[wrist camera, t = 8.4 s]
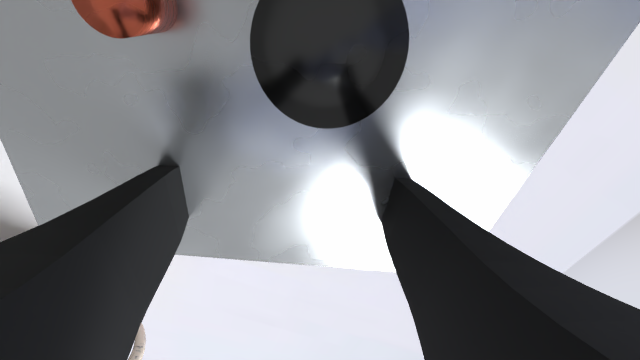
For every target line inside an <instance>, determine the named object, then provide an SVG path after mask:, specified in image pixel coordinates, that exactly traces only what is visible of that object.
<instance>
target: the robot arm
mask: <svg viewBox="0 0 640 360" xmlns="http://www.w3.org/2000/svg"><path fill="white" fill-rule="evenodd" d="M188 218H189V214H188V208H187V203H186V198H185V193H184V187H183V182H182V177H181V172H180V166H167V165H158V166H156V167H153V168H151V169H149V170H147V171H145V172H143V173H141V174H139V175H137V176H136V177H134V178H132V179H130V180H128V181H126V182H124V183H123V184H121V185H119V186H117V187H115V188H113V189H111V190H109V191H108V192H106V193H104V194H102V195H100V196H98V197H96V198H94V199H93V200H91V201H89V202H87V203H85V204H82V205H80V206H78V207H76V208H74V209H72V210H70V211H68V212H66V213H64V214H62V215H60V216H58V217H56V218H54V219H52V220H50V221H48V222H46V223H44V224H41V225H39V226H37V227H35V228H33V229H30V230H28V231H26V232H24V233H21V234H19V235H17V236H14V237H12V238H10V239H7V240H5V241H2V242H0V360H127V359H128V356H129V353H130V351H131V348H132V345H133V343H134V340H135V338H136V335H137V332H138V330H139V327H140V325H141V322H142V320H143V318H144V316H145V313H146V311H147V309H148V307H149V305H150V303H151V301H152V299H153V297H154V295H155V293H156V291H157V289H158V287H159V285H160V283H161V281H162V279H163V277H164V275H165V273H166V271H167V269H168V267H169V265H170V263H171V261H172V259H173V257H174V255H175V253H176V251H177V249H178V247H179V244H180V242H181V240H182V237H183V234H184V231H185V228H186V225H187V222H188ZM381 224H382V229H383V234H384V238H385V242H386V246H387V249H388V252H389V254H390V257H391V260H392V262H393V265H394V268H395V270H396V273H397V275H398V278H399V281H400V283H401V286H402V288H403V291H404V294H405V296H406V299H407V301H408V304H409V307H410V310H411V313H412V316H413V319H414V322H415V326H416V329H417V333H418V336H419V340H420V344H421V347H422V351H423V355H424V359H425V360H640V309H637V308H635V307H633V306H631V305H628V304H625V303H624V302H621V301H619V300H617V299H614V298H612V297H610V296H608V295H606V294H604V293H601V292H599V291H597V290H595V289H593V288H591V287H588V286H586V285H584V284H582V283H580V282H578V281H576V280H574V279H572V278H570V277H568V276H566V275H564V274H562V273H560V272H558V271H556V270H554V269H552V268H550V267H548V266H547V265H545V264H543V263H541V262H539V261H537V260H535V259H534V258H532V257H530V256H528V255H526V254H525V253H523V252H521V251H519V250H518V249H516V248H514V247H512V246H511V245H509V244H507V243H506V242H504V241H502V240H501V239H499V238H497V237H496V236H494V235H493V234H491V233H490V232H488V231H487V230H485V229H484V228H482V227H480V226H479V225H477V224H476V223H474V222H473V221H471V220H470V219H469V218H467V217H466V216H464V215H463V214H461V213H460V212H458V211H457V210H456V209H454V208H453V207H451V206H450V205H449V204H447V203H446V202H445V201H443V200H442V199H440V198H439V197H438V196H436V195H435V194H433V193H432V192H431V191H429V190H428V189H426V188H425V187H424V186H422V185H421V184H419V183H417V182H416V181H414V180H412V179H404V178H395V179H394V182H393V185H392V189H391V192H390V195H389V198H388V202H387V205H386V208H385V211H384V215H383V218H382V221H381Z"/></svg>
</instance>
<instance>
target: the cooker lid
mask: <svg viewBox="0 0 640 360" xmlns="http://www.w3.org/2000/svg"><path fill="white" fill-rule="evenodd" d="M639 22H640V0H0V139H1V141H2V143H3V146H4V148H5V150H6V153H7V155H8V157H9V159H10V162H11V164H12V166H13V169H14V171H15V173H16V175H17V178H18V180H19V182H20V185H21V187H22V189H23V191H24V194H25V196H26V198H27V201H28V203H29V205H30V207H31V210H32V212H33V214H34V217H35V219H36V221H37V223H38V226H39V225H41V224H44V223H46V222H48V221H50V220H52V219H54V218H56V217H58V216H60V215H62V214H64V213H66V212H68V211H70V210H72V209H74V208H76V207H78V206H80V205H82V204H85V203H87V202H89V201H91V200H93V199H94V198H96V197H98V196H100V195H102V194H104V193H106V192H108V191H109V190H111V189H113V188H115V187H117V186H119V185H121V184H123V183H124V182H126V181H128V180H130V179H132V178H134V177H136V176H137V175H139V174H141V173H143V172H145V171H147V170H149V169H151V168H153V167H156V166H158V165H167V166H180V172H181V177H182V182H183V187H184V193H185V198H186V203H187V208H188V214H189V218H188V222H187V225H186V228H185V231H184V234H183V237H182V240H181V242H180V244H179V247H178V249H177V251H176V253H175V255H188V256H200V257H213V258H225V259H238V260H250V261H263V262H275V263H288V264H300V265H313V266H325V267H338V268H350V269H363V270H375V271H388V272H396V270H395V268H394V265H393V262H392V260H391V257H390V254H389V252H388V249H387V246H386V242H385V238H384V234H383V229H382V224H381V221H382V218H383V215H384V211H385V208H386V205H387V202H388V198H389V195H390V192H391V189H392V185H393V182H394V179H395V178H404V179H412V180H414V181H416V182H417V183H419V184H421V185H422V186H424V187H425V188H426V189H428V190H429V191H431V192H432V193H433V194H435V195H436V196H438V197H439V198H440V199H442V200H443V201H445V202H446V203H447V204H449V205H450V206H451V207H453V208H454V209H456V210H457V211H458V212H460V213H461V214H463V215H464V216H466V217H467V218H469V219H470V220H471V221H473V222H474V223H476V224H477V225H479V226H480V227H482V228H484V229H485V230H487V231H489V230H490V229H491V227H492V226H493V224H494V223H495V222H496V220H497V219H498V217H499V216H500V215H501V213H502V212H503V211H504V209H505V208H506V206H507V205H508V204H509V202H510V201H511V199H512V198H513V197H514V195H515V194H516V193H517V191H518V190H519V188H520V187H521V186H522V184H523V183H524V181H525V180H526V179H527V177H528V176H529V175H530V173H531V172H532V170H533V169H534V168H535V166H536V165H537V163H538V162H539V161H540V159H541V158H542V157H543V155H544V154H545V152H546V151H547V150H548V148H549V147H550V145H551V144H552V143H553V141H554V140H555V139H556V137H557V136H558V134H559V133H560V132H561V130H562V129H563V128H564V126H565V125H566V123H567V122H568V121H569V119H570V118H571V116H572V115H573V114H574V112H575V111H576V110H577V108H578V107H579V105H580V104H581V103H582V101H583V100H584V98H585V97H586V96H587V94H588V93H589V92H590V90H591V89H592V87H593V86H594V85H595V83H596V82H597V80H598V79H599V78H600V76H601V75H602V74H603V72H604V71H605V69H606V68H607V67H608V65H609V64H610V62H611V61H612V60H613V58H614V57H615V56H616V54H617V53H618V51H619V50H620V49H621V47H622V46H623V44H624V43H625V42H626V40H627V39H628V38H629V36H630V35H631V33H632V32H633V31H634V29H635V28H636V27H637V25H638V24H639Z"/></svg>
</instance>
